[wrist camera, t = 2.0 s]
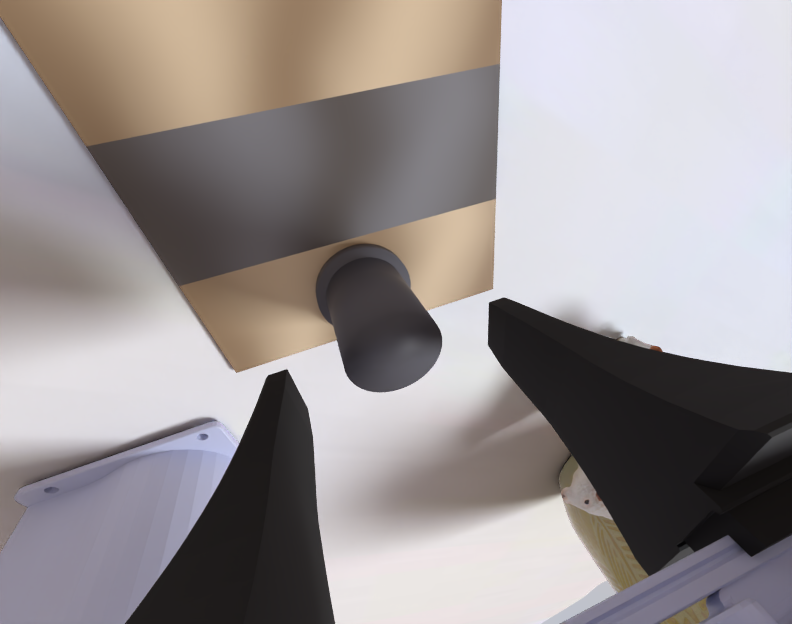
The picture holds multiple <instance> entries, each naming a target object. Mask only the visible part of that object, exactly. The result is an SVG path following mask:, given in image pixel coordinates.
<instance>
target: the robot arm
mask: <svg viewBox="0 0 792 624" xmlns="http://www.w3.org/2000/svg"><path fill="white" fill-rule="evenodd" d="M488 346H489V347H490V349H491V350H492V352H493V354H494V355H495V357H496V358H497V360H498V361H499V363H500V364H501V366H502V367H503V369H504V370H505V371H506V372H507V373H508V375H509V376H510V377H511V378H512V379H513V380H514V382H515V383H516V384H517V385H518V386H519V387H520V389H521V390H522V391H523V392H524V393H525V394H526V396H527V397H528V398H529V399H530V400H531V401H532V403H533V404H534V405H535V406H536V407H537V408H538V410H539V411H540V412H541V413H542V414H543V415H544V417H545V418H546V419H547V420H548V422H549V423H550V424H551V425H552V427H553V428H554V430H555V431H556V432H557V434H558V435H559V437H560V438H561V440H562V441H563V442H564V444H565V445H566V447H567V448H568V449H569V451H570V452H571V454H572V455H573V457H574V458H575V460H576V461H577V463H578V464H579V466H580V467H581V469H582V470H583V472H584V473H585V475H586V476H587V478H588V480H589V481H590V483H591V484H592V486H593V488H594V489H595V491H596V492H597V494H598V496H599V497H600V499H601V500H602V502H603V504H604V505H605V507H606V508H607V510H608V512H609V514H610V515H611V517H612V519H613V520H614V522H615V524H616V526H617V527H618V529H619V531H620V532H621V534H622V536H623V537H624V539H625V541H626V543H627V544H628V546H629V548H630V550H631V552H632V554H633V555H634V557H635V559H636V560H637V562H638V563H639V564H640V565H641V567H642V568H643V569H644V571H645V572H646V573H647V574H648V576H649V577H647V578H645V579H643V580H642V581H640V582H638V583H636V584H634V585H632V586H630V587H628V588H626V589H624V590H623V591H621V592H619V593H617V594H615V595H613V596H611V597H609V598H607V599H606V600H604V601H602V602H600V603H598V604H596V605H594V606H592V607H590V608H589V609H587V610H585V611H583V612H581V613H579V614H577V615H575V616H573V617H571V618H570V619H568V620H566V621H564V622H562V623H560V624H660V623H661V622H663V621H665V620H667V619H669V618H670V617H672V616H674V615H676V614H678V613H679V612H681V611H683V610H685V609H686V608H688V607H690V606H692V605H694V604H695V603H697V602H699V601H701V600H703V599H704V598H706V597H707V599H706V606H707V609H708V611H709V616H708V618H707V619H705V620H703V621H701V622H700V623H698V624H792V373H789V372H781V371H773V370H765V369H756V368H748V367H741V366H734V365H728V364H722V363H716V362H710V361H704V360H699V359H693V358H688V357H683V356H679V355H674V354H670V353H665V352H661V351H656V350H652V349H648V348H644V347H640V346H636V345H633V344H629V343H626V342H622V341H619V340H615V339H612V338H609V337H606V336H602V335H599V334H597V333H594V332H591V331H588V330H585V329H582V328H579V327H577V326H574V325H571V324H569V323H566V322H564V321H561V320H559V319H556V318H554V317H551V316H549V315H546V314H544V313H541V312H539V311H537V310H534V309H532V308H530V307H527V306H525V305H522V304H520V303H517V302H515V301H512V300H510V299H507V298H501V299H498V300H495V301H492V302H489V324H488ZM14 500H15V501H16V502H18V503H20V504H22V505H24V506H25V507H27V509H26V511H25V513H24V514H23V516H22V518H21V519H20V521H19V523H18V524H17V526H16V528H15V529H14V531H13V533H12V534H11V536H10V538H9V539H8V541H7V543H6V544H5V546H4V548H3V549H2V551H1V553H0V624H335V621H334V615H333V609H332V604H331V598H330V593H329V587H328V581H327V575H326V568H325V562H324V556H323V550H322V543H321V537H320V530H319V523H318V513H317V500H316V482H315V464H314V447H313V435H312V429H311V424H310V418H309V413H308V408H307V406H306V404H305V402H304V401H303V399H302V397H301V395H300V393H299V391H298V389H297V387H296V385H295V383H294V381H293V379H292V377H291V376H290V374H289V372H288V370H287V369H286V370H283V371H280V372H277V373H274V374H271V375H268V377H267V378H266V380H265V383H264V386H263V388H262V391H261V394H260V396H259V399H258V401H257V404H256V406H255V409H254V411H253V414H252V416H251V418H250V421H249V423H248V425H247V428H246V430H245V432H244V434H243V437H242V439H241V441H240V443H238V442H237V441H236V440H235V438H234V437H233V436H232V435H231V434H230V432H229V431H228V430H227V429H226V427H225V426H224V425H223V424H222V423H220V422H217V421H213V422H208V423H206V424H203V425H200V426H197V427H194V428H191V429H188V430H185V431H182V432H180V433H177V434H174V435H171V436H168V437H165V438H162V439H159V440H157V441H154V442H151V443H148V444H145V445H142V446H139V447H136V448H133V449H131V450H128V451H125V452H122V453H119V454H116V455H113V456H110V457H107V458H105V459H102V460H99V461H96V462H93V463H90V464H87V465H84V466H82V467H79V468H76V469H73V470H70V471H67V472H64V473H61V474H58V475H56V476H53V477H50V478H47V479H44V480H41V481H38V482H35V483H33V484H30V485H27V486H24V487H22V488H20V489H19V490H18V492H17V493H16V495H15V496H14Z"/></svg>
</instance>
